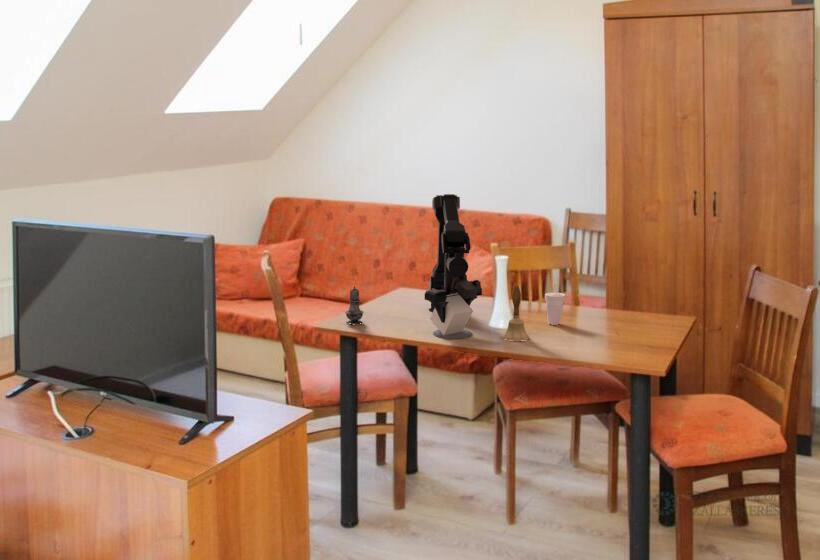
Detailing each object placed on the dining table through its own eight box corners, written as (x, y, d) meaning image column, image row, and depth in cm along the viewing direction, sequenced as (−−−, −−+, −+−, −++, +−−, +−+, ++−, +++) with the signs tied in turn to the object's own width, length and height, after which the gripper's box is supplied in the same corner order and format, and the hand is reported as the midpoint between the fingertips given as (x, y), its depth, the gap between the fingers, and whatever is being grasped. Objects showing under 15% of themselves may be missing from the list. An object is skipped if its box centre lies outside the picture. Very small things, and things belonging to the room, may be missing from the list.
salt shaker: (361, 325, 305) (361, 288, 303) (343, 324, 306) (342, 287, 304) (365, 321, 311) (365, 284, 309) (347, 320, 312) (347, 283, 310)
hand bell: (503, 341, 288) (505, 289, 285) (500, 334, 296) (502, 283, 293) (531, 342, 288) (533, 289, 285) (528, 334, 297) (529, 283, 293)
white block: (448, 315, 303) (458, 294, 298) (462, 332, 299) (473, 310, 294) (429, 318, 298) (440, 297, 293) (443, 335, 294) (454, 313, 289)
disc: (454, 327, 305) (454, 326, 305) (480, 334, 296) (480, 334, 296) (425, 332, 297) (425, 332, 297) (451, 341, 288) (451, 340, 288)
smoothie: (566, 323, 311) (568, 280, 309) (560, 327, 306) (562, 283, 303) (547, 320, 314) (548, 278, 311) (541, 325, 308) (542, 281, 305)
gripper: (448, 277, 281) (447, 330, 284) (495, 270, 292) (493, 321, 295) (423, 272, 289) (423, 323, 292) (470, 265, 301) (469, 314, 304)
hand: (453, 320), depth 296 cm, fingers closed on white block, 8 cm apart
